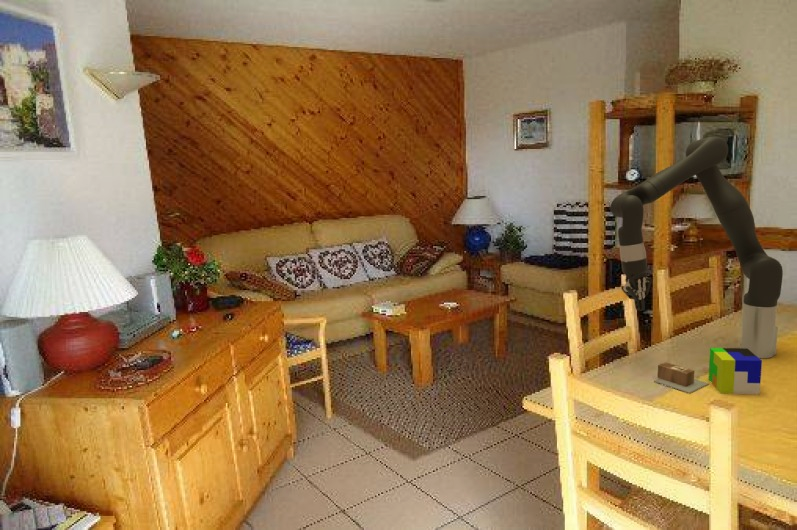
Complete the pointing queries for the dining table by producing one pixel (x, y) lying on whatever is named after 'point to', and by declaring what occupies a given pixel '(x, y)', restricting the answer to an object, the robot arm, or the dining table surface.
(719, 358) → the puzzle toy
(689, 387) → the felt mat
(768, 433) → the dining table surface
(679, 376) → the walnut block
